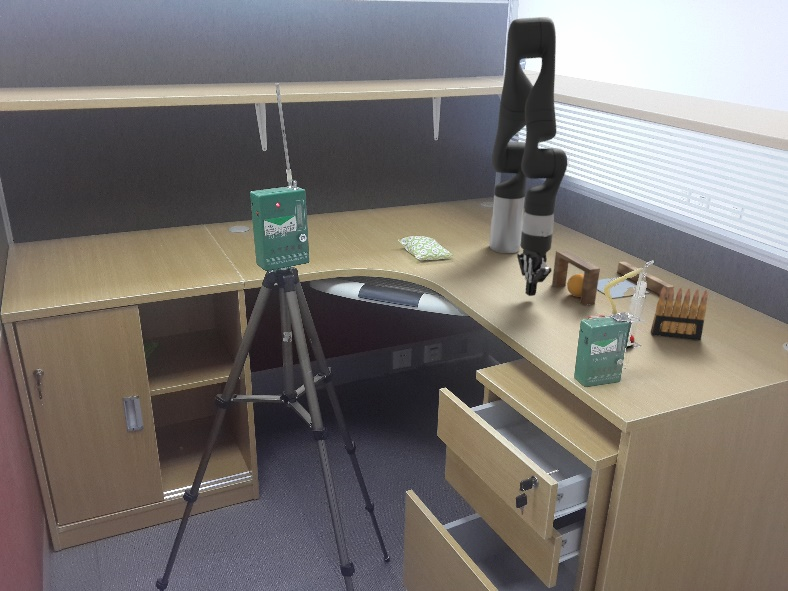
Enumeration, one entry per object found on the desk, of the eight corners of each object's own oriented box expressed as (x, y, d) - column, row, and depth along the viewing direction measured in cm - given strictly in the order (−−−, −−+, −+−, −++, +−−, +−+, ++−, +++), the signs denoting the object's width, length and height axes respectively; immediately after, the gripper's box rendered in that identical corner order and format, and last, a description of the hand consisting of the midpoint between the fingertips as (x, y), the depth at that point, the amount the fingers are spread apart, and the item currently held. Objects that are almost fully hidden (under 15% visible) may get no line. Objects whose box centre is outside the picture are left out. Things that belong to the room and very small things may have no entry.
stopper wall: (617, 272, 190) (618, 262, 189) (622, 271, 191) (624, 261, 190) (666, 297, 173) (668, 287, 172) (672, 296, 174) (674, 286, 173)
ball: (576, 296, 177) (559, 288, 174) (586, 276, 176) (569, 268, 173) (589, 302, 171) (571, 295, 169) (599, 281, 170) (582, 273, 168)
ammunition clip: (651, 335, 152) (660, 287, 148) (650, 332, 154) (659, 284, 149) (700, 340, 150) (711, 292, 146) (699, 337, 152) (709, 289, 147)
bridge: (584, 305, 168) (589, 269, 164) (551, 284, 181) (555, 250, 177) (594, 304, 169) (600, 268, 165) (561, 283, 182) (565, 249, 178)
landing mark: (584, 282, 182) (584, 281, 182) (620, 277, 186) (620, 276, 186) (612, 298, 172) (612, 298, 172) (649, 293, 176) (649, 292, 176)
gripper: (510, 223, 167) (504, 287, 174) (538, 239, 156) (531, 306, 163) (536, 221, 170) (529, 284, 177) (565, 236, 159) (557, 302, 165)
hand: (530, 294), depth 170 cm, fingers closed
